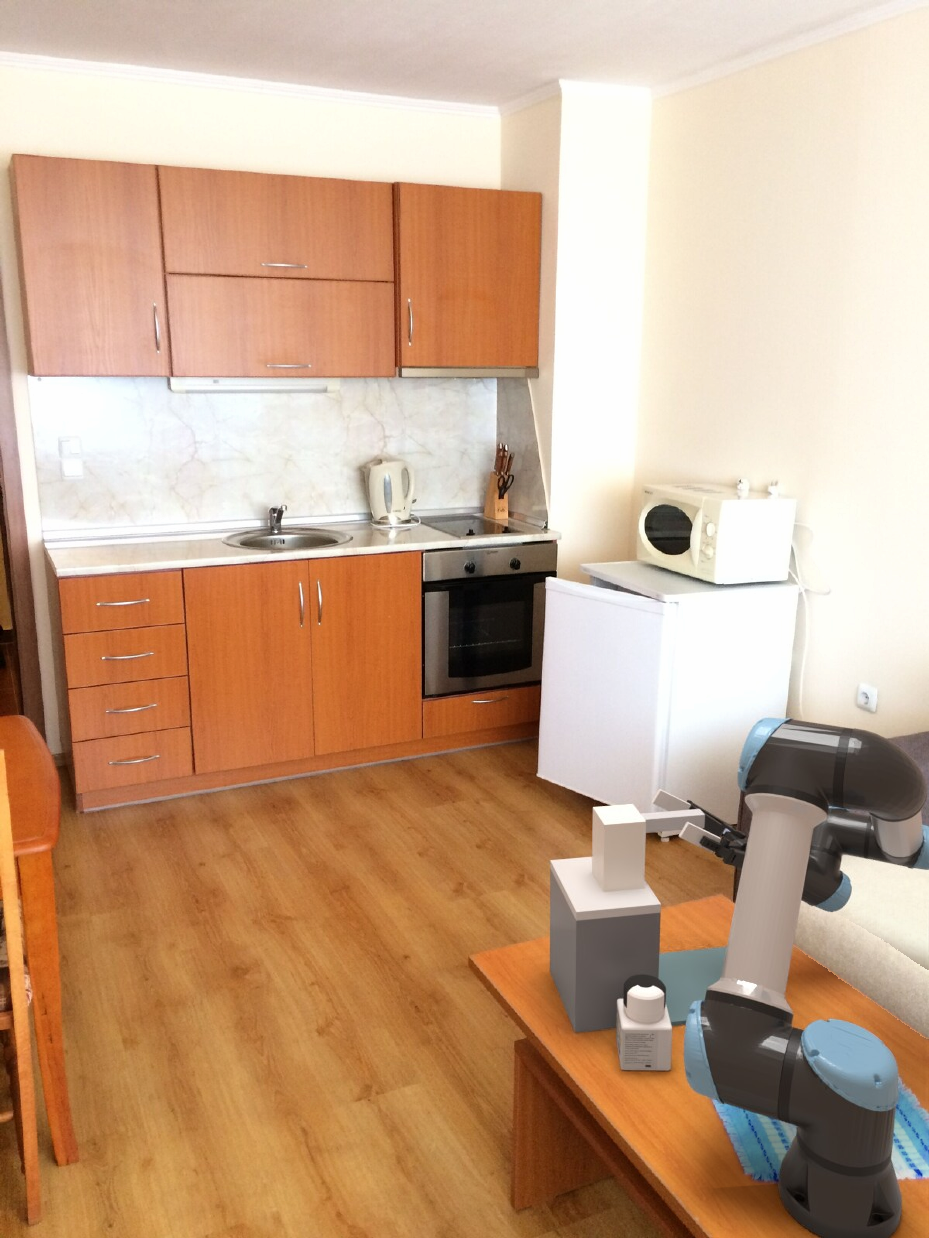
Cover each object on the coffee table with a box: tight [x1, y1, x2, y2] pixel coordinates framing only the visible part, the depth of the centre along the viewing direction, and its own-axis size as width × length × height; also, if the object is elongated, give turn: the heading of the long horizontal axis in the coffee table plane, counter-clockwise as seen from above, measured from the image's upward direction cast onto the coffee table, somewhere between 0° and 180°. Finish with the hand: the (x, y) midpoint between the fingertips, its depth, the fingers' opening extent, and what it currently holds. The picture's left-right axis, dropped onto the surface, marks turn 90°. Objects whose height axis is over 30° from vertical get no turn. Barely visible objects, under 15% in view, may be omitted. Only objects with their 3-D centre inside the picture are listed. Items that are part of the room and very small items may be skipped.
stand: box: [549, 856, 662, 1034], centre depth 177 cm, size 14×18×22 cm
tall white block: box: [591, 803, 705, 892], centre depth 175 cm, size 18×7×12 cm, turn 99°
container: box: [615, 974, 673, 1072], centre depth 163 cm, size 8×8×13 cm
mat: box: [659, 945, 727, 1027], centre depth 183 cm, size 20×20×1 cm
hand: (669, 812), depth 174 cm, fingers open, 13 cm apart
